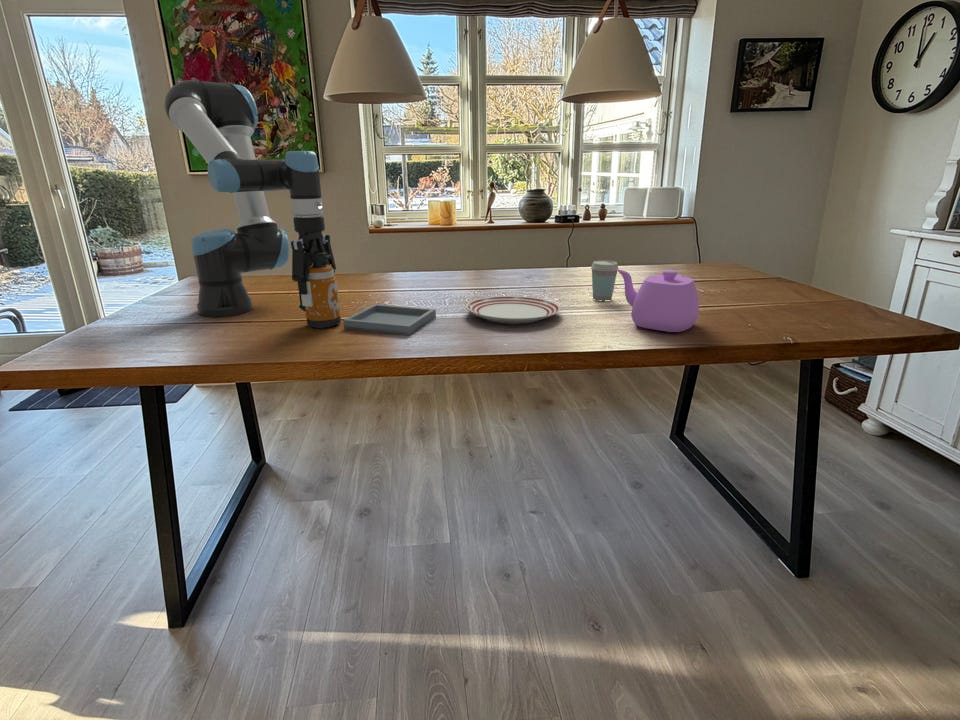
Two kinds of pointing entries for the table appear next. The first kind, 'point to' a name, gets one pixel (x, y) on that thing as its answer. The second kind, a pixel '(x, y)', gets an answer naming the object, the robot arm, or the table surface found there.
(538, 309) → the dinner plate
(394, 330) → the tray
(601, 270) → the coffee cup
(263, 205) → the robot arm
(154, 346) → the table surface
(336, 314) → the canister
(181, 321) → the table surface
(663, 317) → the teapot
